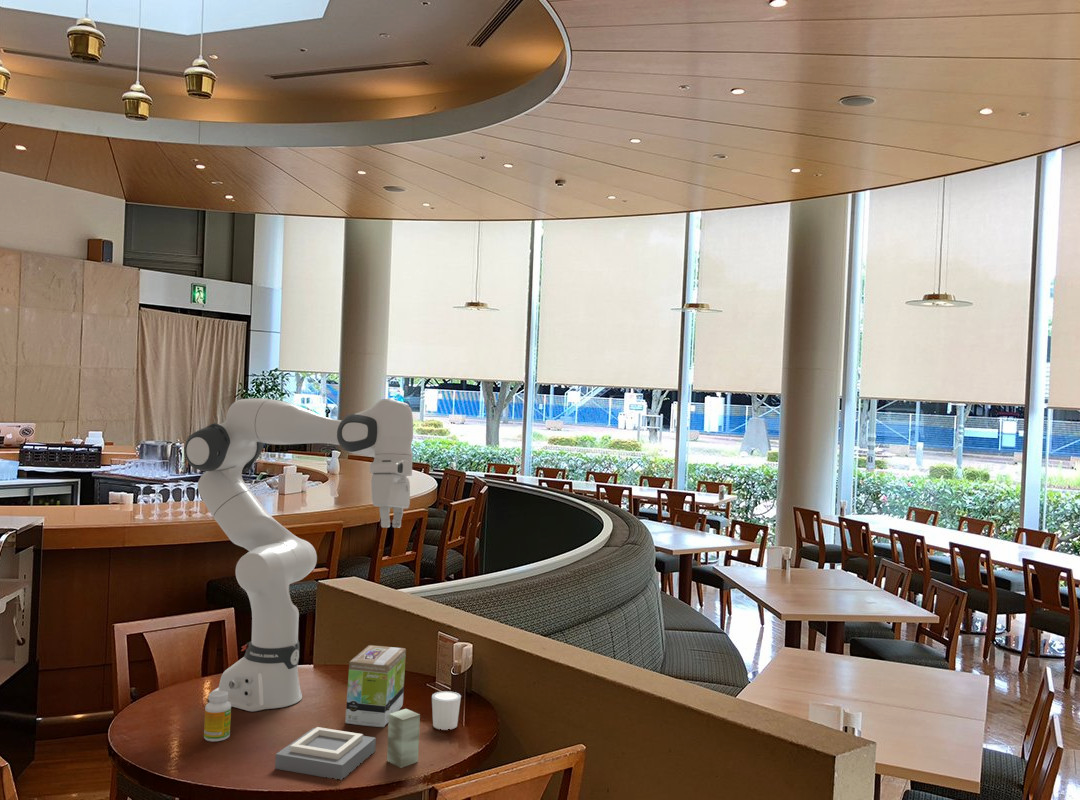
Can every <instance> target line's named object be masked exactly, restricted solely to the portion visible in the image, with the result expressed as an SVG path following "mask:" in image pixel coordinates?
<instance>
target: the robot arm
mask: <svg viewBox="0 0 1080 800" xmlns="http://www.w3.org/2000/svg"><path fill="white" fill-rule="evenodd" d="M225 417H226V418H225V420H224V422H222V423H216V422H213V423H210V424H209V425H207V426H205V427H203V428H201V429H198V430H196V431H195V432H193V433H191V434H190V435H189V437H188V438H187V439H186V441H185V443H184V446H183V447H184V449H183V450H184V452H183V453H184V457H185V459H186V461H187V463H188V465H190V467H192V468H193V469H196V470H197V471H202V472H203V474H201V476H200V478H199V479H198V481H197V491H198V493H199V496H200V498H201V500H202V501H203V503H204V505H205V507H206V508H207V511H208V512H209V513H210V515H211V516H212V518H213V519H214V521H215V522H216V523H217V525H218V526H219V527H220V529H221V530H222V531H223V532H224V534H225V535H226V537H228V539H229V541H230V542H232V544H234V545H236V546H239V547H241V548H244V549H245V550H247V551H248V552H247V553H245V554H244V555H242V556H241V557H240V558H239V559H238V561H237V562H236V565H235V573H234V574H235V578H236V580H237V583H238V585H239V586H240V587H241V588H242V589H243V590H244V591H245V592H246V593H247V597H248V599H249V604H250V608H251V618H252V619H251V640H250V641H249V642H246V644H245V645H243V646H241V648H242V649H241V650H240V651H241V652H243V651H245V653H244V656H243V657H242V658H240V659H239V660H237V661H236V662H234V664H232V665H231V666H229V667H227V669H225V670H224V671H223V673H222V674H221V676H220V681H219V684H218V687H217V688H214V689H213V690H212V691H211V692H213V691H227V692H228V700H227V701H229V702H230V703H231V708H232V707H233V708H237V709H240V710H245V711H247V712H258V711H262V710H269V709H278V708H279V709H280V708H284V707H288V706H289V707H290V706H292V705H294V704H297V703H298V702H300V701H301V700H302V698H303V694H302V690H301V686H300V679H299V667H298V665H299V660H300V641H299V621H300V620H299V617H300V613H299V609H298V607H297V606H296V605H294V603H293V601H292V598H291V593H290V585H291V584H293V583H297V582H299V581H301V580H303V579H304V578H306V577H307V576H308V575H309V574H310V573H311V572H312V571H314V569H315V567H316V565H317V562H318V555H317V551H316V549H315V547H314V546H313V544H311V542H309V541H307V540H306V539H303V538H300V537H298V536H296V534H293V533H292V532H291V531H290V530H288V529H287V528H286V527H285V526H284V525H282V524H281V523H280V522H278V521H277V520H276V519H275V518H274V517H273V516H272V515H271V514H270V513H269V512H268V511H267V509H266V508H265V507H264V506H263V504H262V503H261V502H260V500H259V499H258V498H257V496H255V494H254V492H253V491H252V490H251V489H250V488H249V486H248V485H247V484H246V483H245V481H244V479H243V474H245V473H247V472H249V471H250V470H251V468H252V466H253V464H254V463H255V462H256V461H257V460H258V459H259V457H260V456H261V453H262V452H263V448H264V444H268V445H302V444H305V445H306V444H330V445H337V446H339V447H341V449H342V450H344V451H346V452H348V453H350V454H355V455H359V456H364V457H370V458H373V461H372V462H371V463H370V464H369V473H370V474H372V475H371V482H370V483H371V502H372V505H373V506H374V507H379V508H378V509H379V511H378V512H379V517H380V526H381V528H384V529H385V528H390V527H391V526H392V528H395V529H396V528H397V529H398V528H399V529H400V528H401V527H402V519H403V515H404V509H409V508H410V504H411V490H410V488H411V485H410V484H411V483H410V479H409V477H411V476H413V457H414V456H413V450H412V442H413V439H414V416H413V411H412V408H411V406H410V405H409V403H406V402H403V401H401V400H400V401H399V400H397V399H396V400H395V399H391V398H390V399H389V398H383V399H380V400H378V402H377V403H375V404H374V405H372V406H371V407H369V408H367V409H365V410H362V411H360V412H356V413H354V414H353V413H352V414H349V415H346V416H345V417H344V418H343V419H341V420H340V419H334V418H331V417H326V416H323V415H320V414H318V413H316V412H314V411H311V410H309V409H306V408H303V407H300V406H299V405H296V404H293V403H290V402H287V401H283V400H279V399H273V398H271V399H270V398H262V397H261V398H258V397H256V398H255V397H254V398H250V397H249V398H242V399H238V400H236V401H234V402H233V403H232V404H231V405H230V406H229V408H228V409H227V413H226V416H225ZM391 509H393V510H392V511H393V512H392V513H393V519H392V520H391V518H390V512H391ZM391 521H392V524H391ZM207 699H208V701H209V697H208V698H207Z"/></svg>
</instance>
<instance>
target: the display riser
mask: <svg viewBox="0 0 1080 800" xmlns="http://www.w3.org/2000/svg"><path fill="white" fill-rule="evenodd" d="M376 739H377V738H376V737H375V736H367V735H364V734H363V733H357V732H350V731H346V730H345V731H344V730H338V729H334V728H333V729H332V728H325V727H321V726H316V727H312V728H311V729H310V730H309V731H307V732H306V733H304V734H303V735H301V736H300V737H298V738H297V739H295V740H294V741H292V742H291V743H290V744H288V745H287V746H285V747H283V748H282V749H281V750H279V751H278V752H276V753H275V760H274V761H275V763H274V765H275V766H274V769H275V770H279V771H280V770H281V771H287V772H290V773H291V772H293V773H298V774H305V775H308V776H309V775H310V776H313V777H314V776H316V777H321V778H326V777H327V779H332V778H334V779H333V780H337V779H340V780H339V781H343V780H344V779H345V778H346V777H347V776H348V775H350V774H351V773H352V772H353V771H354V770H356V769H357V768H358V767H359V766H360V765H361V764H362V763H364V762H365V761H366V760H367V759H368V758H370V757H371V756H372V755H373V754H375V752H376V743H377V741H376ZM371 754H372V755H371ZM370 755H371V756H370ZM366 758H367V759H366ZM365 759H366V760H365ZM364 760H365V761H364ZM363 761H364V762H363ZM360 763H361V764H360ZM357 766H358V767H357ZM356 767H357V768H356ZM350 772H351V773H350ZM349 773H350V774H349ZM343 778H344V779H343ZM342 779H343V780H342Z"/></svg>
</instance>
